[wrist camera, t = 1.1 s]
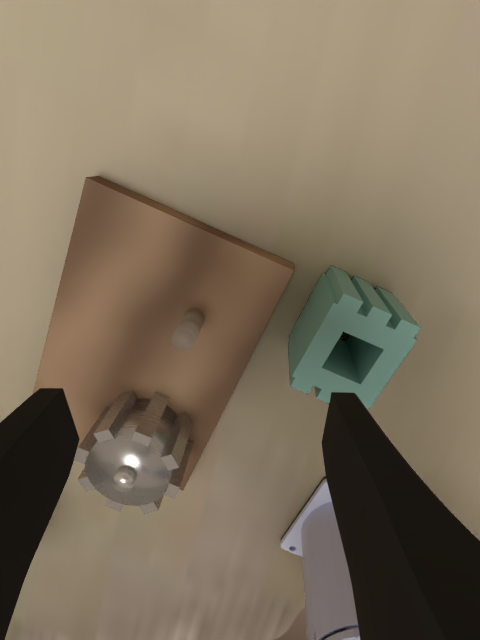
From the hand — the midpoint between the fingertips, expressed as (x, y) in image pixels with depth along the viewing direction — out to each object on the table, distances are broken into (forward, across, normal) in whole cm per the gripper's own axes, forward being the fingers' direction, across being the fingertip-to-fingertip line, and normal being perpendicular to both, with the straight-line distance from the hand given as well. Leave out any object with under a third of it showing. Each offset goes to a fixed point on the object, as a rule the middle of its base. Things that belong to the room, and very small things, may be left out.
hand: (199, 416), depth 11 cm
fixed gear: (+10, +5, +13) cm, 17 cm away
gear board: (+13, +5, +8) cm, 16 cm away
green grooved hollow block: (+12, -7, +5) cm, 15 cm away
